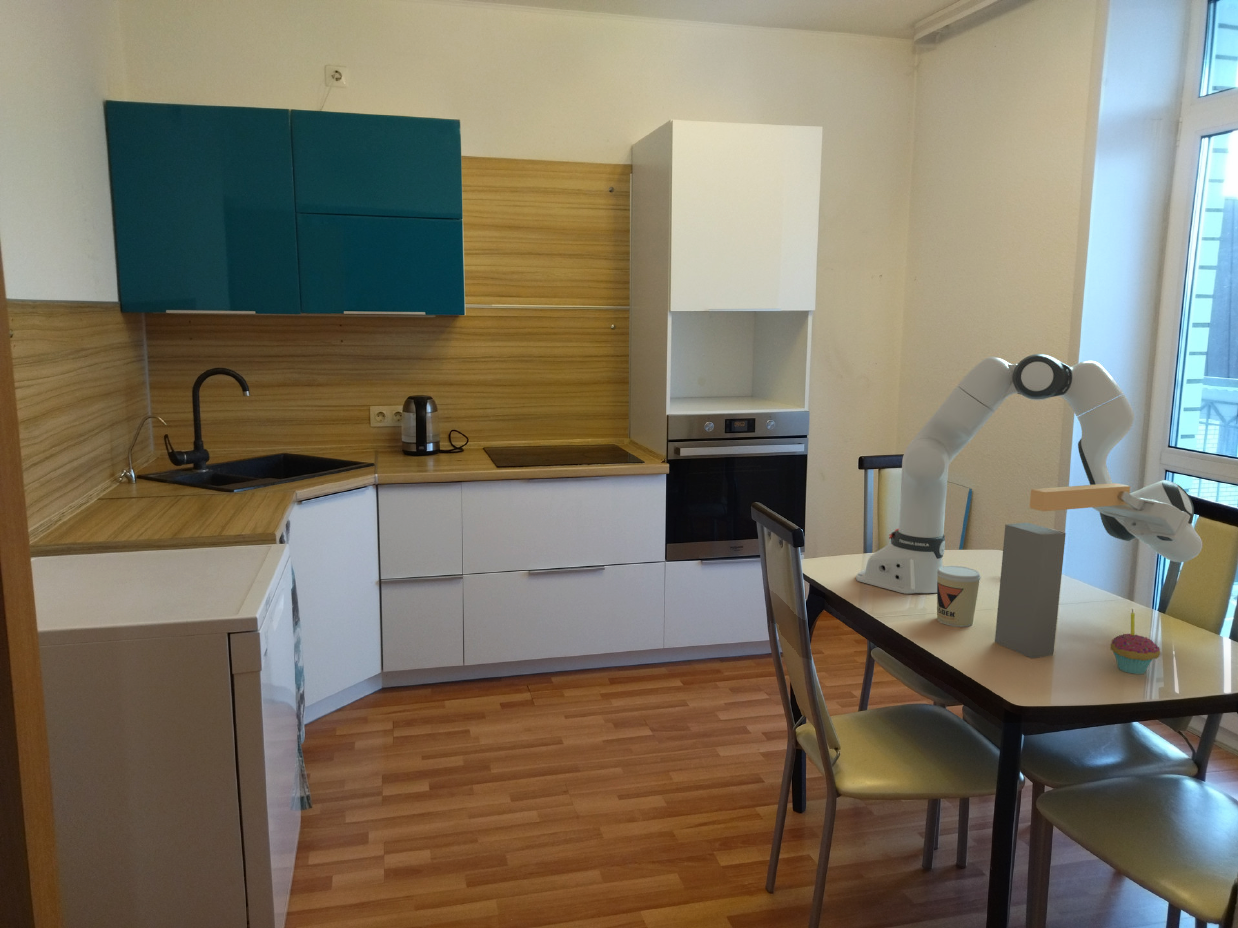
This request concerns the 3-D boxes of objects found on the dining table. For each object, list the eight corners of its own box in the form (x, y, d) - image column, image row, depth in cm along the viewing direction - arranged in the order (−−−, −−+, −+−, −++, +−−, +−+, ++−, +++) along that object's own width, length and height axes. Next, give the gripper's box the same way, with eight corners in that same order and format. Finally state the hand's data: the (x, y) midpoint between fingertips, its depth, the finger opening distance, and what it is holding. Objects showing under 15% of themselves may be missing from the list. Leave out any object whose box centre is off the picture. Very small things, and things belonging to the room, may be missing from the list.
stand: (1016, 638, 194) (1027, 522, 189) (1053, 654, 184) (1065, 533, 180) (994, 641, 191) (1005, 524, 187) (1031, 658, 182) (1043, 535, 178)
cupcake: (1098, 661, 181) (1105, 605, 179) (1138, 661, 182) (1144, 605, 180) (1126, 678, 173) (1132, 619, 171) (1167, 677, 173) (1174, 618, 171)
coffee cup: (924, 617, 207) (928, 567, 205) (955, 612, 211) (959, 563, 209) (954, 630, 198) (958, 578, 197) (985, 625, 202) (990, 574, 200)
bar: (1113, 501, 193) (1115, 483, 193) (1128, 504, 190) (1130, 485, 189) (1029, 508, 185) (1031, 489, 184) (1043, 511, 181) (1045, 492, 181)
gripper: (1113, 498, 205) (1077, 471, 200) (1198, 517, 186) (1161, 487, 181) (1100, 522, 205) (1064, 496, 199) (1184, 543, 186) (1147, 514, 181)
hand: (1111, 492), depth 190 cm, fingers closed on bar, 4 cm apart
